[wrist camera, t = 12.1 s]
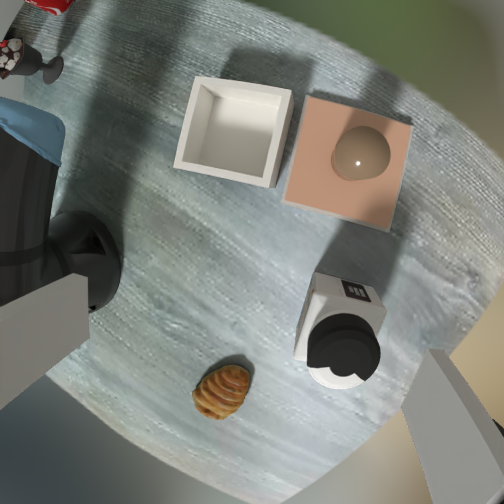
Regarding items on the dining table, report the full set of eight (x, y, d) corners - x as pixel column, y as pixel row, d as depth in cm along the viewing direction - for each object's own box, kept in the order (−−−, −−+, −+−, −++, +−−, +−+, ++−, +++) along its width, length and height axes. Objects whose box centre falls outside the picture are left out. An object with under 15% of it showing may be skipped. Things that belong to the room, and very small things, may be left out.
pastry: (222, 350, 41) (214, 365, 38) (263, 376, 41) (260, 392, 38) (191, 391, 44) (183, 406, 40) (229, 414, 44) (223, 430, 40)
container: (313, 270, 37) (315, 312, 24) (374, 286, 36) (402, 333, 23) (295, 328, 39) (288, 389, 26) (353, 342, 38) (368, 405, 25)
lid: (285, 199, 35) (276, 204, 26) (308, 99, 33) (308, 68, 23) (386, 227, 34) (413, 242, 24) (408, 128, 31) (441, 109, 22)
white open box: (193, 169, 37) (173, 167, 31) (212, 91, 35) (195, 76, 29) (274, 188, 36) (268, 188, 30) (294, 105, 33) (291, 90, 28)
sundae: (64, 44, 36) (1, 18, 22) (69, 72, 37) (0, 49, 23) (38, 67, 38) (-25, 50, 23) (42, 96, 39) (-26, 82, 24)
